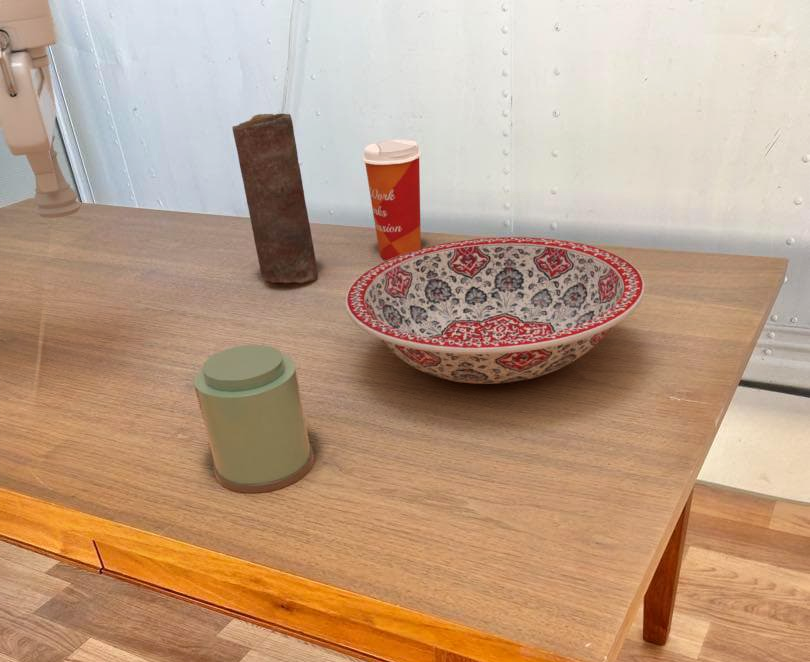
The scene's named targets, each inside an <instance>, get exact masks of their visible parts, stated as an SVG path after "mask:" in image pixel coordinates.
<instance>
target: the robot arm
mask: <svg viewBox="0 0 810 662" xmlns="http://www.w3.org/2000/svg"><path fill="white" fill-rule="evenodd" d="M55 25H56V24H55V22H54V18H53V14H52V10H51V6H50V3H49V0H0V129H1V131H2V134H3V138H4V141H5V144H6V146H7V148H8V150H9V152H10V154H11V155H12V156H16V157H17V156H25V157H26V159H27V161H28V163H29V165H30V167H31V169H32V172H33V173H34V177H35V176H36V179H35V181H36V180H37V183H38V186H39V189H40V190H41V192H44V193H46V192H54V191H57V190H58V186H59V184H58V180H57V177H56V173H55V170H54V168H53V164H52V159H51V155H50V149H51V144H52V137H53V135H54V131H55V130H54V129H55V124H56V117H57V108H56V107H57V106H56V99H55V93H54V88H53V82H52V77H51V71H50V66H49V65H51V60H50V56H49V52H48V48H47V47H49V46H53V45H57V43H59V41H60V40H59V36H58V32H57V29H56V26H55ZM53 149H54V150H55V146H54V145H53Z"/></svg>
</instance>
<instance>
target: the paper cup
mask: <svg viewBox="0 0 810 662" xmlns="http://www.w3.org/2000/svg"><path fill="white" fill-rule="evenodd" d="M363 154H364V155H363V156H362V159H361V160H362V162H363V163H364V164H365V172H366V177H367V183H368V189H369V196H370V203H371V208H372V215H373V222H374V227H375V233H376V240H377V245H378V251H379V255H380V258H381V260H383V261H387V260H389V259H391V258H394V257H397V256H399V255H402V254H405V253H408V252H411V251H415V250H418V249H422V248H421V244H422V240H421V239H422V237H421V178H420V172H421V171H420V157H422V154H423V153H422V152H421V150H420V149H419V144H418V143H417V142H416V141H414V140H411V139H389V140H388V141H387V140H383V141H378V142H377V143H375V142H374V143H370V144H368V145H366V146H365V147H364V153H363Z"/></svg>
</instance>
